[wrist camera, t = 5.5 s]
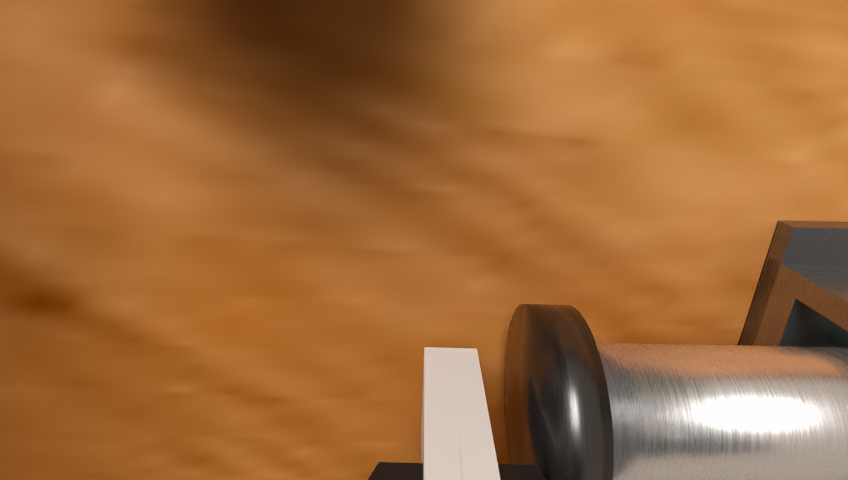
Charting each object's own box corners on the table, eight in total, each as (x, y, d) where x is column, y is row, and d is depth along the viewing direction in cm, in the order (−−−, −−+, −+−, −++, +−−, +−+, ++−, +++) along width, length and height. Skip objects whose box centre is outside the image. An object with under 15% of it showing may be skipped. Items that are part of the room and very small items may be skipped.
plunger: (498, 417, 16) (536, 593, 11) (514, 269, 14) (570, 398, 9) (974, 425, 16) (1241, 602, 11) (1059, 280, 14) (1437, 413, 9)
